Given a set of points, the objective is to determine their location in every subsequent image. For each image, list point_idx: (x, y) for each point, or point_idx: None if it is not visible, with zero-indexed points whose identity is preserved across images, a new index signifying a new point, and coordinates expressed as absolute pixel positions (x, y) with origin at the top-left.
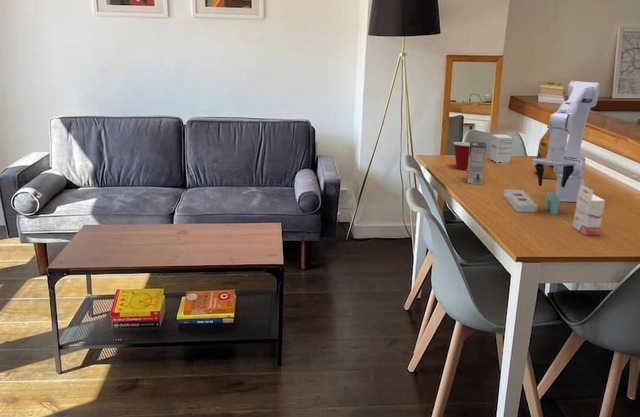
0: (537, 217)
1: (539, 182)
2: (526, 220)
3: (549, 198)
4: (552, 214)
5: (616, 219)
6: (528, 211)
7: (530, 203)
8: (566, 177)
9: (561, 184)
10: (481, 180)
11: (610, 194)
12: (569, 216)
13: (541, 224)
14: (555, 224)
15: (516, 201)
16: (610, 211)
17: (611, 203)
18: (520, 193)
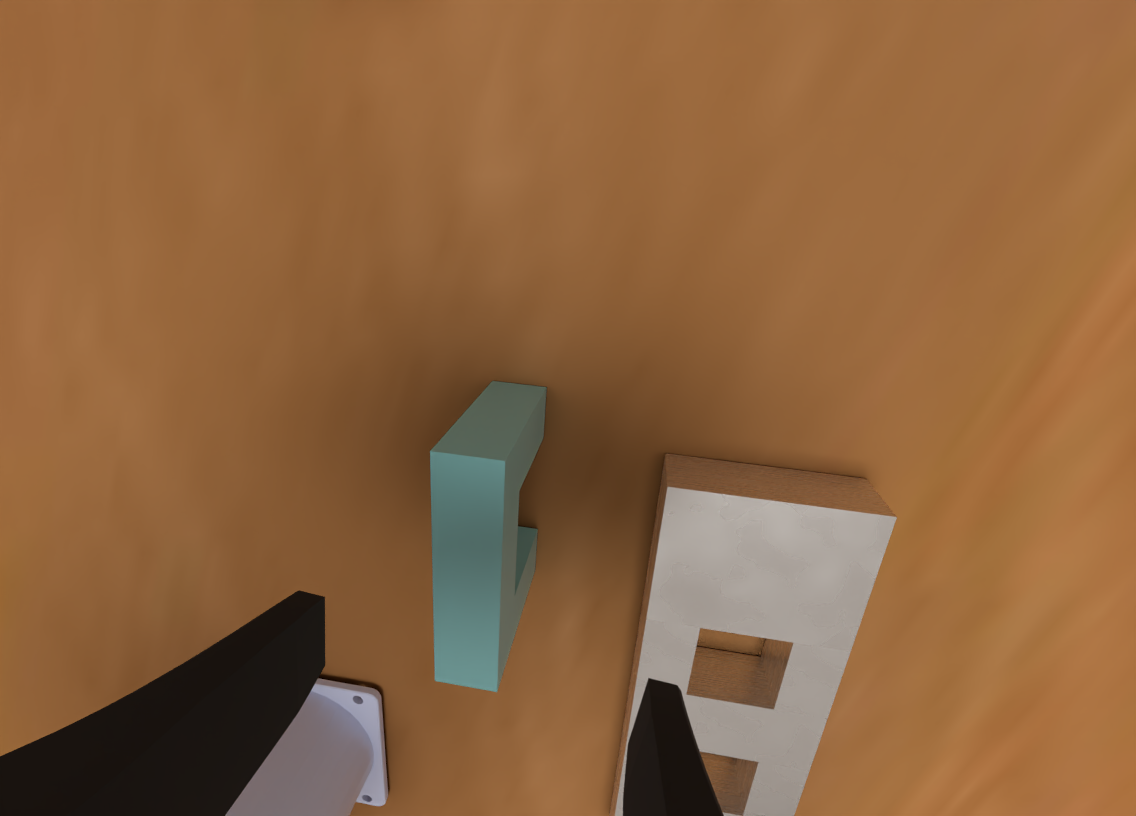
0: (730, 304)
1: (689, 748)
2: (919, 195)
3: (511, 569)
4: (537, 387)
5: (5, 253)
6: (750, 466)
7: (713, 558)
8: (135, 725)
9: (310, 675)
10: None
11: None
12: (392, 336)
13: (808, 40)
14: (633, 52)
15: (836, 625)
16: (36, 459)
17: (16, 621)
18: None
